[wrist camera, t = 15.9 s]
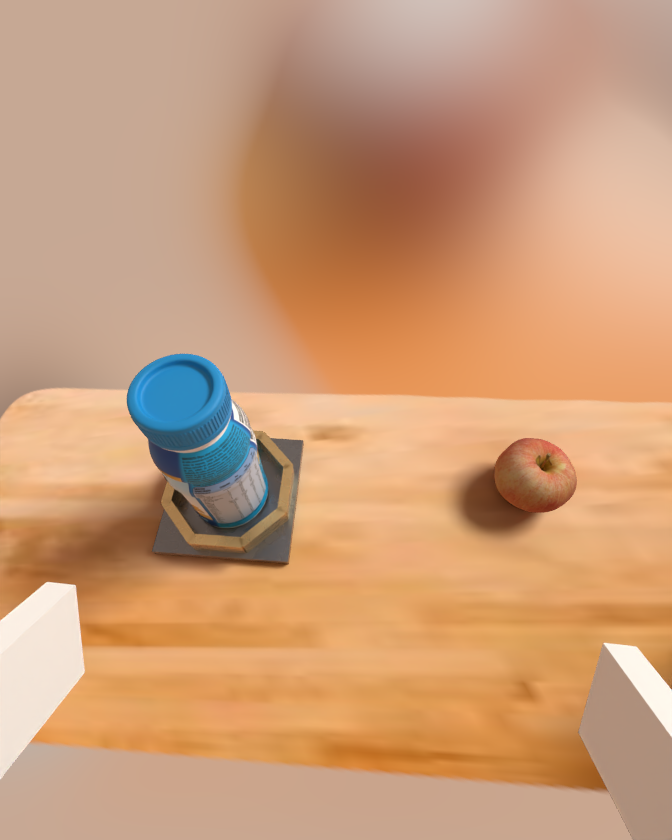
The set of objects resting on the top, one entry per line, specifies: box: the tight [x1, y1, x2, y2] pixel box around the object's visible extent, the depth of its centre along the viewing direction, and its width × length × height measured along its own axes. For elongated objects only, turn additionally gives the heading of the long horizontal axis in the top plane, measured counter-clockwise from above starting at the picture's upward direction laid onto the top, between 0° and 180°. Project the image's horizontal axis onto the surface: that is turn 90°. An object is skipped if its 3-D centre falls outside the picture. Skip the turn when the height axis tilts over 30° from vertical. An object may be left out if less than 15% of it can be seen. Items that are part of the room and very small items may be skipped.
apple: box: [494, 438, 577, 512], centre depth 44 cm, size 8×8×8 cm
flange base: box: [152, 431, 304, 564], centre depth 45 cm, size 14×14×4 cm
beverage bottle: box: [127, 354, 268, 528], centre depth 37 cm, size 8×8×20 cm
